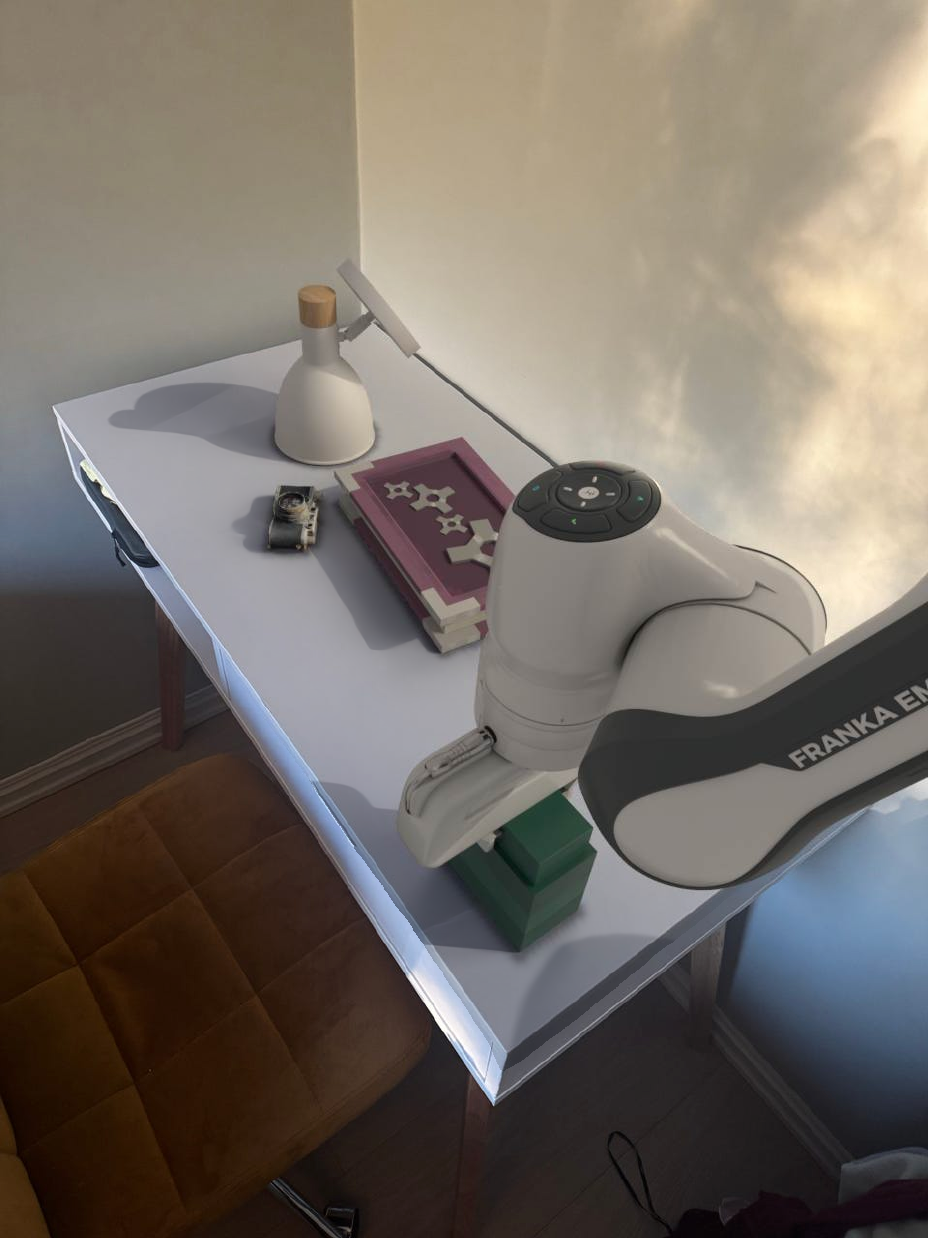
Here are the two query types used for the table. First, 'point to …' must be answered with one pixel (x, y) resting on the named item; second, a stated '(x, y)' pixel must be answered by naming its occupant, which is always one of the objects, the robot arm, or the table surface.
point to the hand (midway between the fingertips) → (522, 817)
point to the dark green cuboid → (546, 837)
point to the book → (432, 531)
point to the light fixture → (332, 377)
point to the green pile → (523, 891)
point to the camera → (294, 517)
